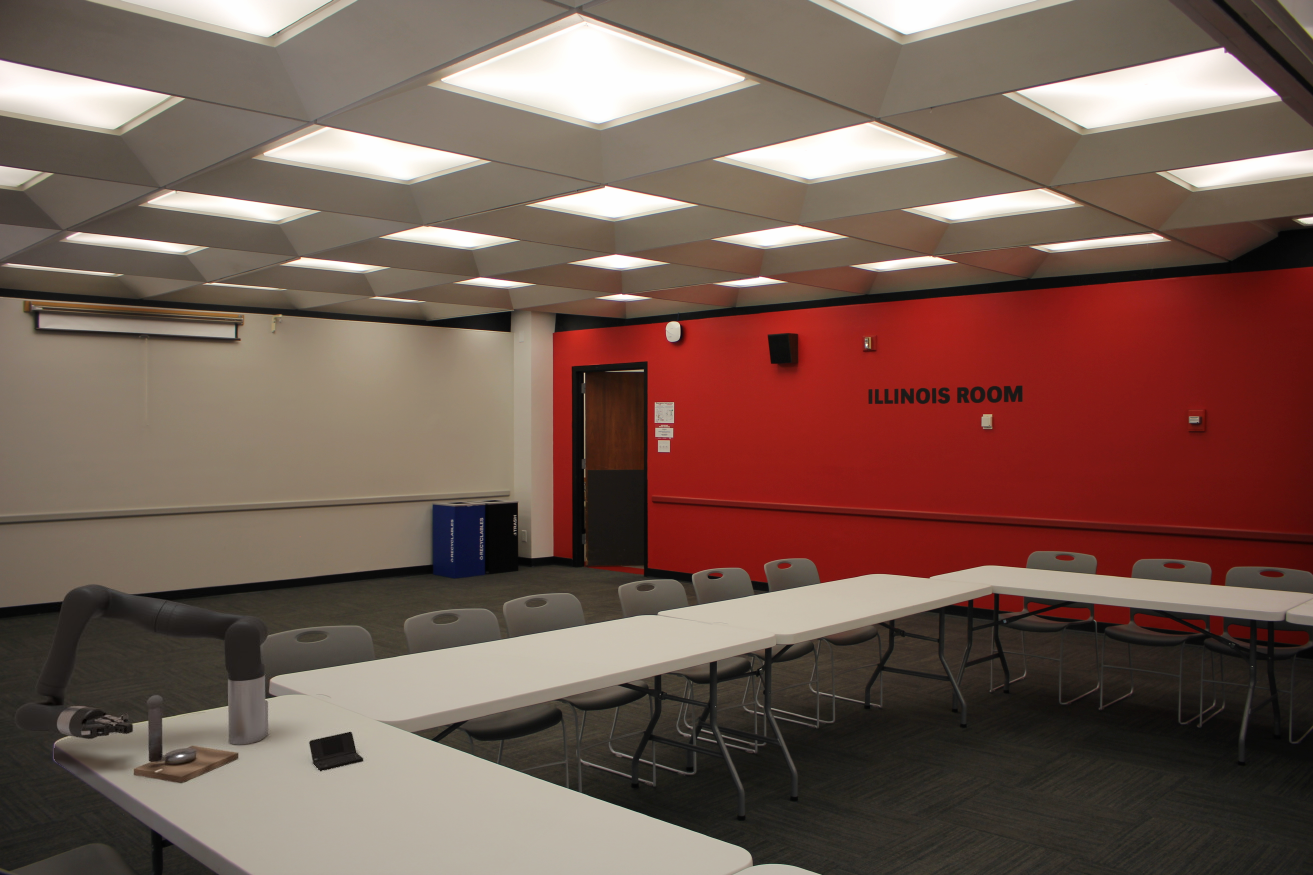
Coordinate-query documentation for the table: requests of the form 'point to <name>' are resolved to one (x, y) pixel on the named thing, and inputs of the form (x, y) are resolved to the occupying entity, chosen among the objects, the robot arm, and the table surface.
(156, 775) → the walnut stand base
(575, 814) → the table surface
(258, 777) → the table surface
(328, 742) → the handheld gaming console
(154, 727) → the grey upright post stand
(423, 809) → the table surface
